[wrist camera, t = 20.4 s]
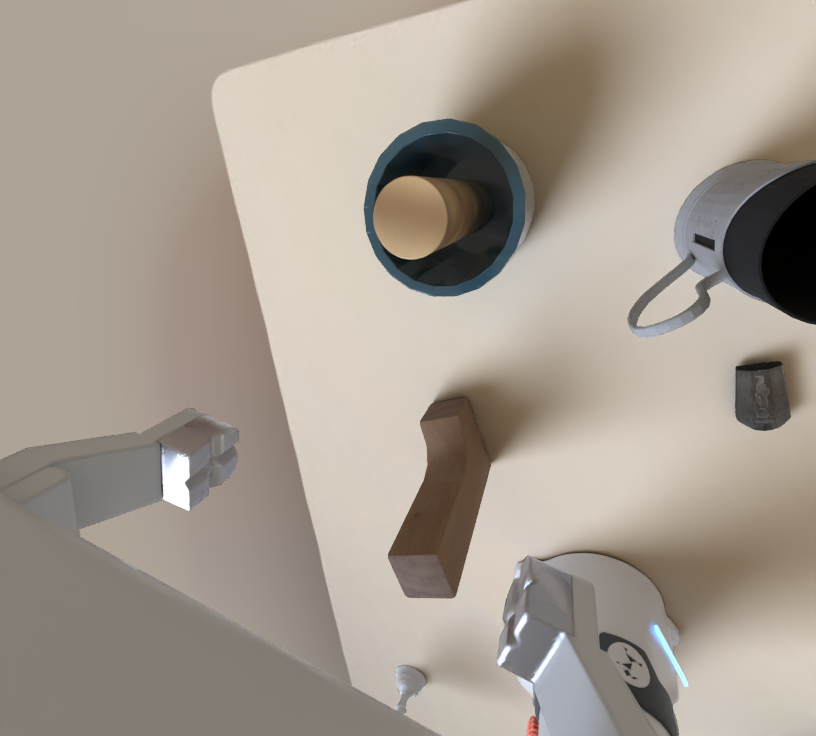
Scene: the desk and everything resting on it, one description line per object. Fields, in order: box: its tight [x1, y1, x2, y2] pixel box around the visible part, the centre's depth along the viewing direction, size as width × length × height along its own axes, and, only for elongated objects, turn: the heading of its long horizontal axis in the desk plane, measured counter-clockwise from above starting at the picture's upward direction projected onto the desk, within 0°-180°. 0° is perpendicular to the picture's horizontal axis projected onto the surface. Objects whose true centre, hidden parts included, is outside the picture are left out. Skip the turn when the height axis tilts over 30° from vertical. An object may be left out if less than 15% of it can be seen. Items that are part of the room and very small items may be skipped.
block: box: [735, 361, 791, 431], centre depth 35 cm, size 4×6×2 cm, turn 22°
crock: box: [364, 119, 535, 296], centre depth 34 cm, size 12×12×10 cm
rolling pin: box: [373, 176, 492, 259], centre depth 30 cm, size 4×4×16 cm
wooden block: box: [388, 397, 491, 598], centre depth 40 cm, size 9×4×18 cm, turn 22°
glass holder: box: [628, 160, 816, 338], centre depth 27 cm, size 9×14×15 cm, turn 127°
